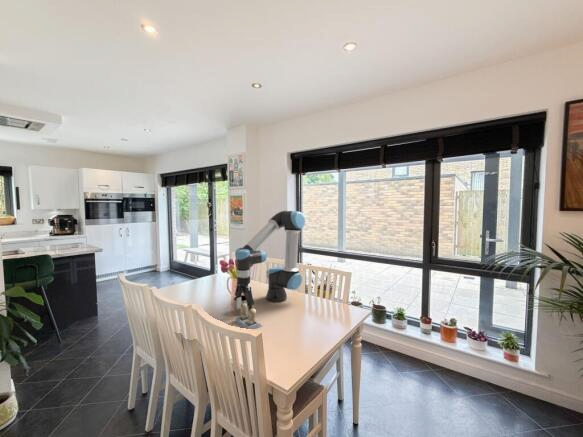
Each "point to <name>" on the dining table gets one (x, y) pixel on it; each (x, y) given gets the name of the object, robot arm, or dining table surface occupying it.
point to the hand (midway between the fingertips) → (244, 311)
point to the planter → (235, 310)
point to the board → (244, 323)
